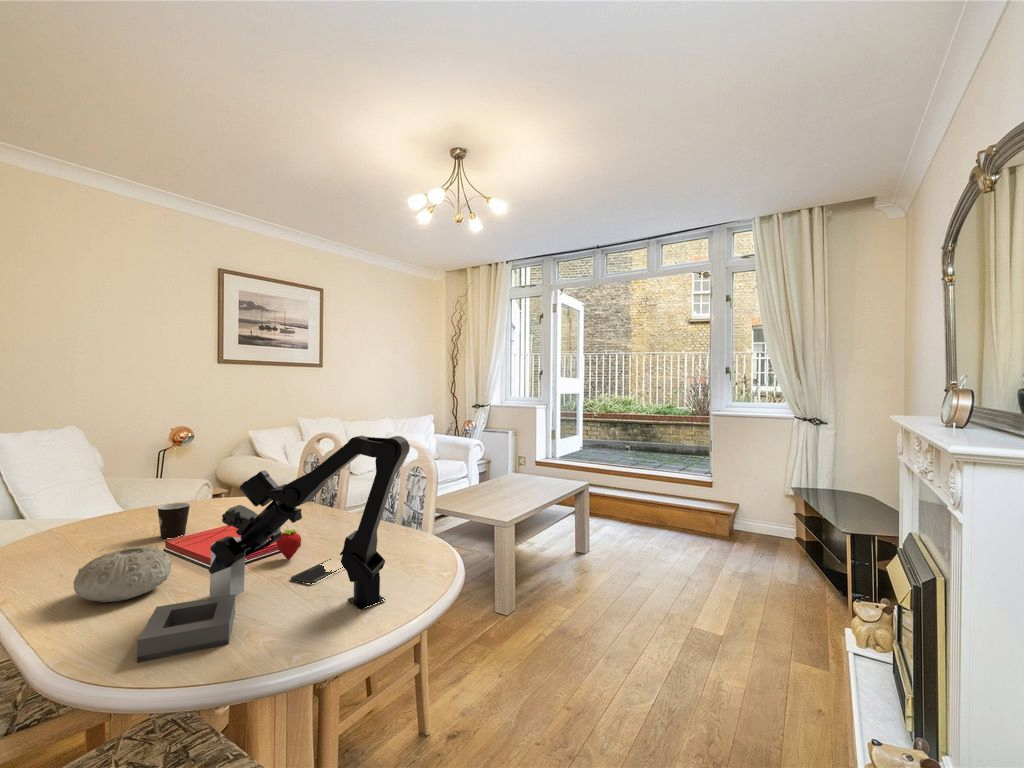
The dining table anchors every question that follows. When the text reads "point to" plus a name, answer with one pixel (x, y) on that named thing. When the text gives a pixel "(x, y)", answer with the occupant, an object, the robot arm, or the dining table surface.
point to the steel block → (227, 578)
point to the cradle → (187, 627)
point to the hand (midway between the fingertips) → (224, 564)
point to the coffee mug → (173, 519)
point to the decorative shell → (122, 574)
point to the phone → (312, 574)
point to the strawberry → (289, 543)
